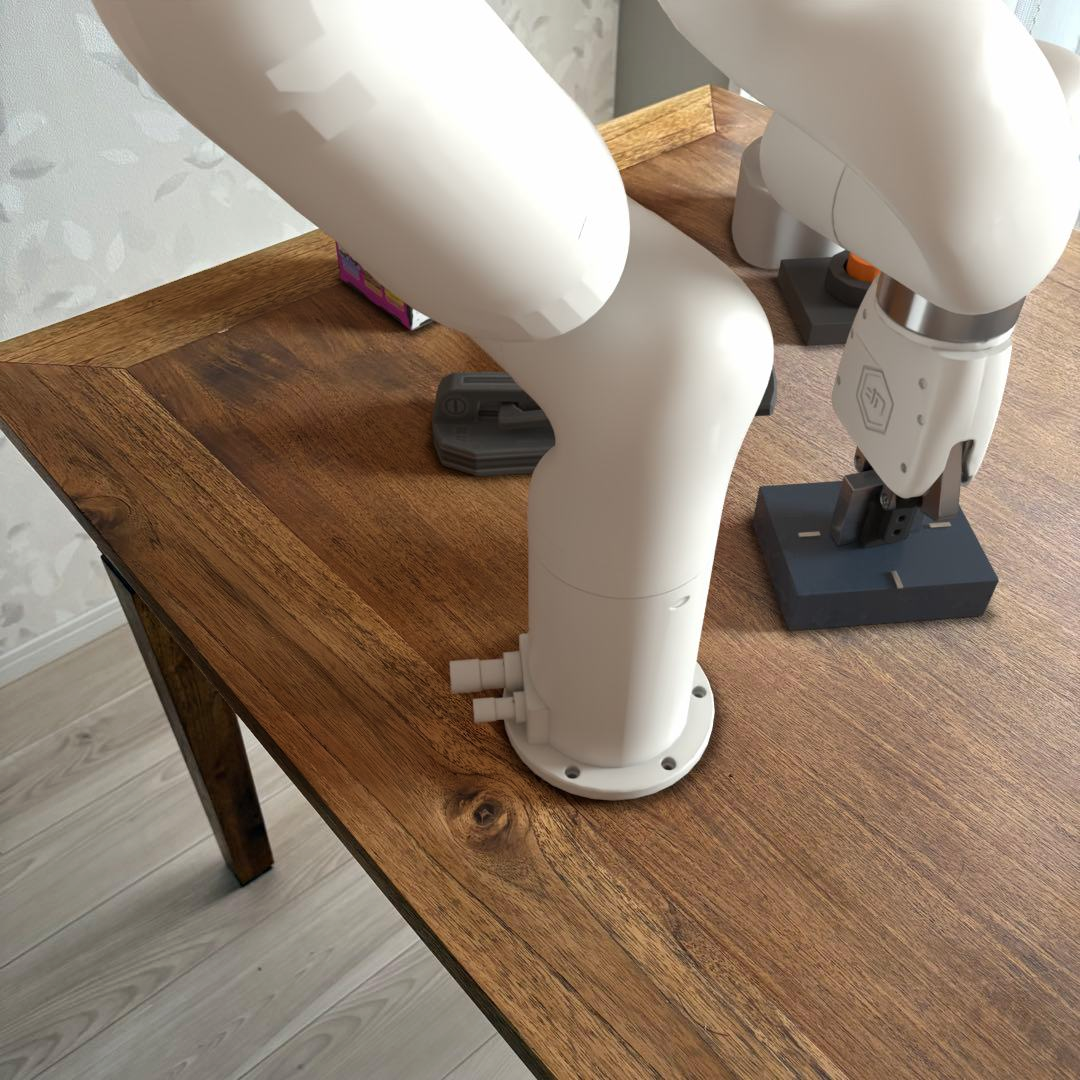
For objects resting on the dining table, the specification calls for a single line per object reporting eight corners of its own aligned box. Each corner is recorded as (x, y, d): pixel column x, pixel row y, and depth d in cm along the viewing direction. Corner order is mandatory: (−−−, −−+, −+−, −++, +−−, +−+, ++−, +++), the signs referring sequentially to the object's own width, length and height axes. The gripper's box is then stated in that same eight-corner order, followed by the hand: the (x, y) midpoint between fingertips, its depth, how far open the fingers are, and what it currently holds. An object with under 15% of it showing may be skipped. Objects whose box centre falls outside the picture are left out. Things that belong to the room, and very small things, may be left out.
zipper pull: (785, 410, 76) (423, 404, 77) (770, 481, 81) (429, 475, 82) (769, 334, 83) (434, 328, 83) (756, 404, 87) (439, 398, 88)
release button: (853, 285, 93) (857, 267, 92) (840, 262, 95) (844, 244, 94) (895, 283, 93) (899, 265, 92) (881, 260, 96) (885, 242, 94)
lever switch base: (788, 632, 71) (798, 594, 69) (751, 521, 78) (759, 483, 76) (984, 617, 72) (1001, 579, 70) (929, 508, 79) (943, 470, 77)
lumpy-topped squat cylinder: (737, 268, 101) (751, 180, 95) (726, 197, 110) (737, 112, 104) (852, 271, 101) (873, 182, 95) (831, 199, 110) (849, 114, 104)
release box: (806, 346, 93) (815, 306, 90) (776, 280, 100) (784, 241, 97) (945, 338, 94) (958, 298, 91) (906, 273, 101) (917, 234, 98)
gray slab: (837, 546, 72) (854, 486, 68) (828, 531, 73) (844, 472, 69) (921, 529, 73) (942, 470, 69) (910, 515, 74) (931, 455, 70)
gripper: (823, 224, 64) (773, 462, 77) (963, 386, 54) (878, 630, 67) (940, 207, 65) (871, 444, 79) (1099, 362, 55) (989, 606, 68)
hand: (875, 528), depth 73 cm, fingers closed
